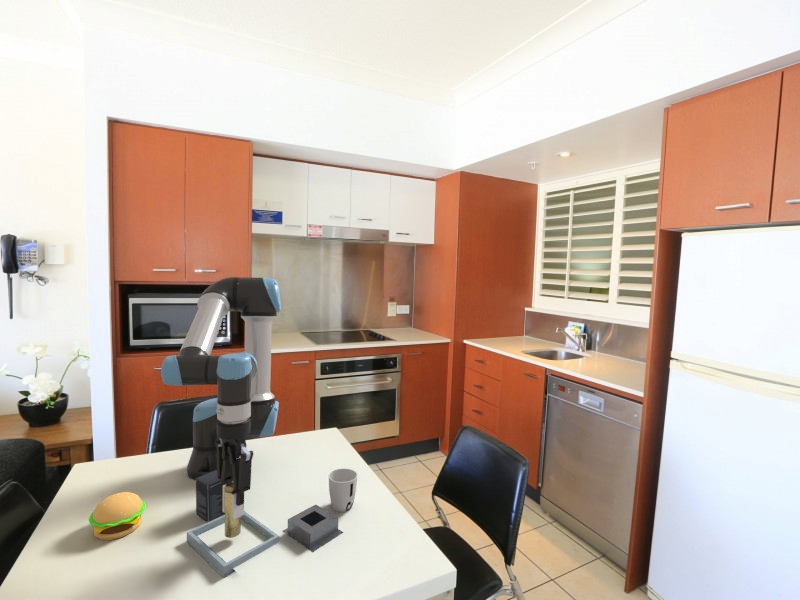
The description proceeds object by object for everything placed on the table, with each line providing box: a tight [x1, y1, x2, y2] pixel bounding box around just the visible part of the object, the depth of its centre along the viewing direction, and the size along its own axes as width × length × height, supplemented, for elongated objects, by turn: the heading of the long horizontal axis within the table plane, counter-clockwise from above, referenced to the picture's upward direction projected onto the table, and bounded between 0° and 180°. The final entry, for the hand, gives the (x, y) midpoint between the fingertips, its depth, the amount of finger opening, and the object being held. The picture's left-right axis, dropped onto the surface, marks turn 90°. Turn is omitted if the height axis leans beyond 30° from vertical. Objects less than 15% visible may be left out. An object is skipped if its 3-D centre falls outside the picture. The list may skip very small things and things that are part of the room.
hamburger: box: [88, 491, 147, 541], centre depth 104 cm, size 12×12×9 cm
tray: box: [186, 510, 280, 578], centre depth 100 cm, size 18×14×2 cm
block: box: [282, 503, 344, 553], centre depth 104 cm, size 12×10×4 cm
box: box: [195, 470, 233, 523], centre depth 114 cm, size 11×7×10 cm, turn 145°
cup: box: [328, 468, 358, 513], centre depth 116 cm, size 8×8×10 cm
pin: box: [224, 482, 242, 539], centre depth 99 cm, size 4×4×12 cm
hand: (233, 512), depth 100 cm, fingers closed on pin, 4 cm apart
